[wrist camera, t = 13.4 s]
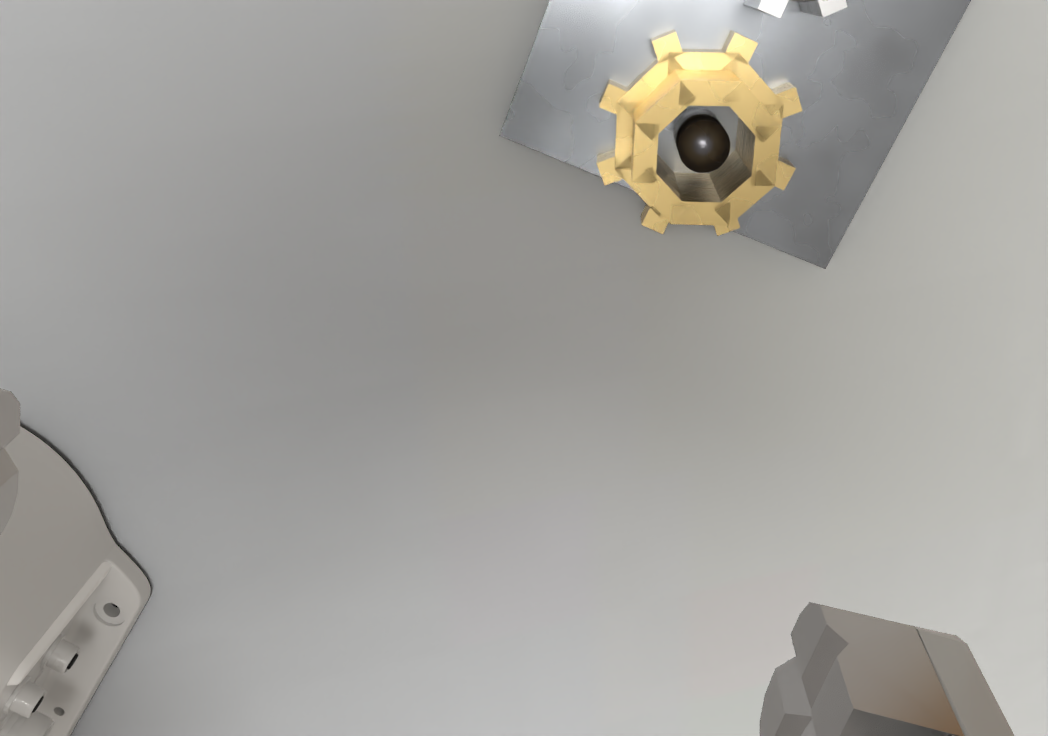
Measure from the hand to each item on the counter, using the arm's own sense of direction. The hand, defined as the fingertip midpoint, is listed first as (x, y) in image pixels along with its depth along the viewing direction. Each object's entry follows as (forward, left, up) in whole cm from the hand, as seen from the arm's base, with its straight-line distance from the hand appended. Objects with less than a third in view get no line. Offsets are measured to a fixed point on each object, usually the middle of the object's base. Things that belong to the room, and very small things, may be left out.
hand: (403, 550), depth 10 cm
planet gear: (+1, -5, -30) cm, 30 cm away
